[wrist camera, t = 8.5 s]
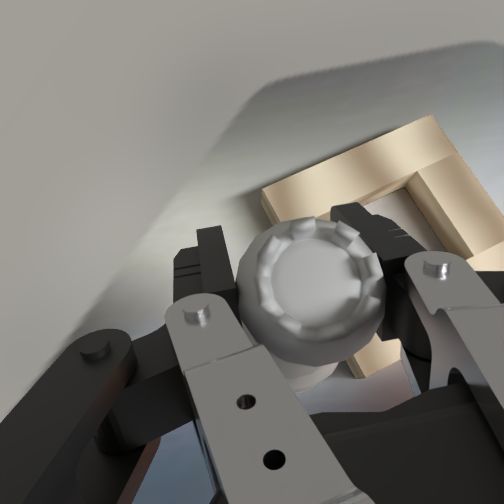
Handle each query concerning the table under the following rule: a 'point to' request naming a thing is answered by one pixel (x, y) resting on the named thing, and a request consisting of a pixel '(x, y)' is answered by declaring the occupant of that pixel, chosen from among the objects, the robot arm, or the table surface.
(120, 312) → the table surface
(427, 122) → the wooden square ring
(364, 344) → the rook chess piece
